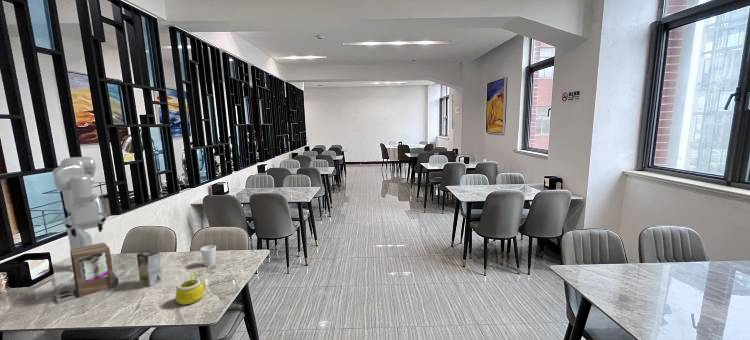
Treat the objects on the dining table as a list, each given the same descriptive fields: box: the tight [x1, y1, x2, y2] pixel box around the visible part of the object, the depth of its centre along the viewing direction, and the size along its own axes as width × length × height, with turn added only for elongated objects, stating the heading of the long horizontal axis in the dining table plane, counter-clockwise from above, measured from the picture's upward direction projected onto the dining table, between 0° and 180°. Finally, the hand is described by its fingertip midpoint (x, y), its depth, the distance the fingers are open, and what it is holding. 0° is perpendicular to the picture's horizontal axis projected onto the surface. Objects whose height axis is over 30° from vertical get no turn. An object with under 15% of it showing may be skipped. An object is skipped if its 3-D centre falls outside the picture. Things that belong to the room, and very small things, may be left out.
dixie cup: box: [199, 245, 217, 267], centre depth 188 cm, size 8×8×10 cm
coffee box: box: [136, 249, 163, 287], centre depth 166 cm, size 9×6×16 cm
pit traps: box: [54, 288, 76, 305], centre depth 154 cm, size 12×6×1 cm, turn 49°
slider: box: [73, 254, 120, 297], centre depth 166 cm, size 19×16×12 cm
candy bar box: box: [79, 253, 108, 283], centre depth 161 cm, size 11×5×16 cm, turn 168°
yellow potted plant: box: [175, 269, 207, 305], centre depth 148 cm, size 13×11×12 cm
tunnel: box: [69, 242, 115, 298], centre depth 161 cm, size 13×13×21 cm
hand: (87, 233), depth 163 cm, fingers open, 9 cm apart
